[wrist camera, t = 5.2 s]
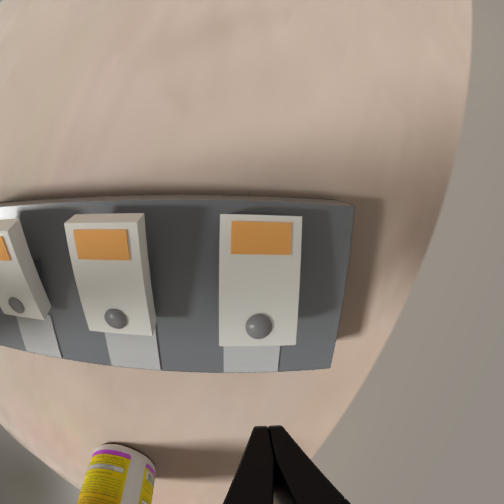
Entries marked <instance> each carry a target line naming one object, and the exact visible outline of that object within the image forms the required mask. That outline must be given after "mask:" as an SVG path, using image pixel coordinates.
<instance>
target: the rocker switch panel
mask: <svg viewBox="0 0 504 504" xmlns="http://www.w3.org/2000/svg"><path fill="white" fill-rule="evenodd" d="M114 213H144V217H145V230H146V241H147V252H148V261H149V270H150V278H151V286H152V294H153V301H154V308H155V315H156V321H157V322H156V325H155V329H154V332H153V336H145V335H131V334H119V333H108V332H97V331H90V330H89V327H88V324H87V321H86V318H85V314H84V311H83V307H82V304H81V300H80V296H79V292H78V289H77V285H76V281H75V276H74V272H73V268H72V263H71V258H70V254H69V249H68V243H67V238H66V232H65V227H64V223H65V222H66V221H67V220H69V219H70V218H71V217H73V216H74V215H75V214H114ZM220 214H242V215H276V216H302V239H301V265H300V286H299V304H298V320H297V334H296V345H284V346H219V240H220ZM353 217H354V206H352V205H349V204H346V203H343V202H340V201H337V200H328V199H312V198H294V197H272V196H243V195H120V196H93V197H72V198H55V199H41V200H28V201H16V202H5V203H0V220H2V219H20V223H21V226H22V229H23V233H24V236H25V239H26V242H27V245H28V248H29V251H30V254H31V257H32V259H33V262H34V265H35V267H36V270H37V273H38V275H39V278H40V280H41V283H42V285H43V287H44V290H45V292H46V295H47V297H48V299H49V301H50V304H51V308H50V310H49V312H48V314H47V316H46V318H45V320H39V319H32V318H26V317H20V316H14V315H8V314H4V313H3V311H2V309H1V307H0V345H2V346H6V347H10V348H14V349H18V350H22V351H27V352H31V353H36V354H41V355H46V356H51V357H57V358H62V359H68V360H74V361H80V362H87V363H94V364H102V365H110V366H118V367H127V368H138V369H149V370H163V371H180V372H208V373H256V372H284V371H301V370H315V369H327V368H330V367H331V362H332V357H333V352H334V347H335V342H336V337H337V332H338V326H339V321H340V315H341V309H342V303H343V297H344V290H345V284H346V277H347V269H348V262H349V254H350V246H351V237H352V228H353Z"/></svg>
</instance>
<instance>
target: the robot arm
mask: <svg viewBox="0 0 504 504" xmlns="http://www.w3.org/2000/svg"><path fill="white" fill-rule="evenodd" d="M223 504H350V502H349V501H348V500H346V499H344V496H343V495H342V494H341V493H340V492H339V491H338V490H337V489H336V488H335V487H334V486H333V485H332V483H331V482H330V481H329V480H328V479H327V478H326V477H325V476H324V475H323V473H322V472H321V471H320V470H319V469H318V468H317V467H316V466H315V464H314V463H313V462H312V461H311V460H310V459H309V457H308V456H307V455H306V454H305V453H304V452H303V450H302V449H301V448H300V447H299V446H298V445H297V443H296V442H295V441H294V440H293V439H292V437H291V436H290V435H289V434H288V432H287V431H286V430H285V429H284V428H283V427H282V426H280V425H277V426H269V427H267V426H255V427H254V428H253V431H252V433H251V436H250V439H249V441H248V444H247V446H246V449H245V451H244V454H243V456H242V459H241V461H240V464H239V466H238V469H237V471H236V474H235V476H234V479H233V481H232V483H231V486H230V488H229V491H228V493H227V495H226V498H225V500H224V502H223Z"/></svg>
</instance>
